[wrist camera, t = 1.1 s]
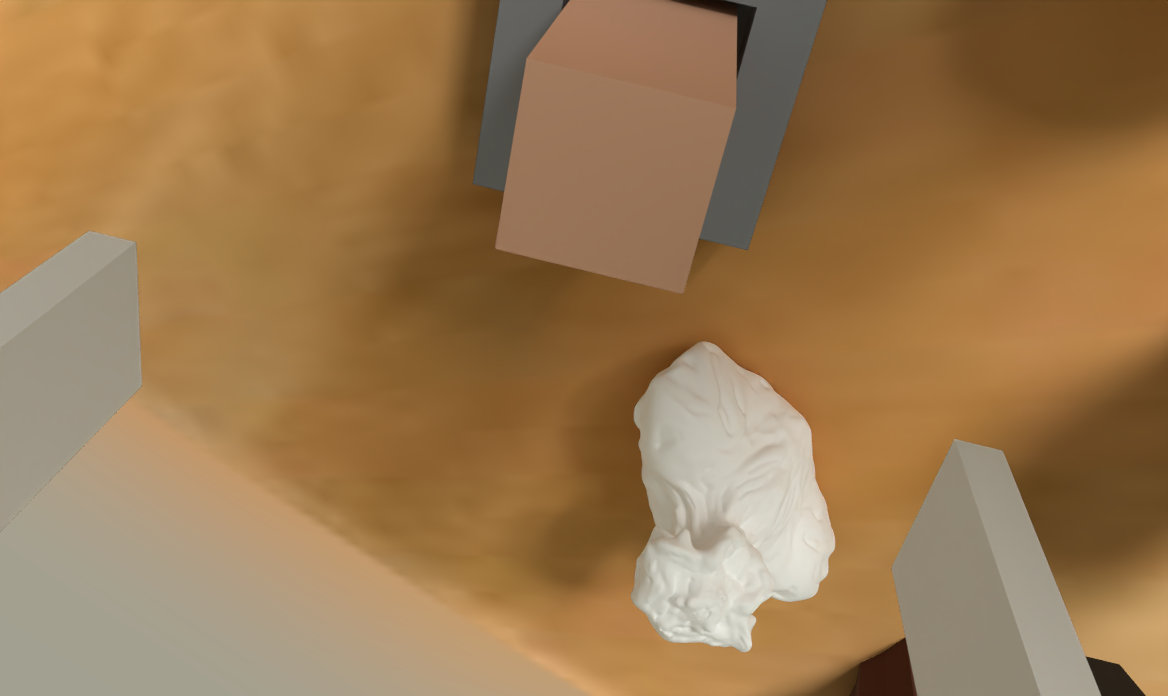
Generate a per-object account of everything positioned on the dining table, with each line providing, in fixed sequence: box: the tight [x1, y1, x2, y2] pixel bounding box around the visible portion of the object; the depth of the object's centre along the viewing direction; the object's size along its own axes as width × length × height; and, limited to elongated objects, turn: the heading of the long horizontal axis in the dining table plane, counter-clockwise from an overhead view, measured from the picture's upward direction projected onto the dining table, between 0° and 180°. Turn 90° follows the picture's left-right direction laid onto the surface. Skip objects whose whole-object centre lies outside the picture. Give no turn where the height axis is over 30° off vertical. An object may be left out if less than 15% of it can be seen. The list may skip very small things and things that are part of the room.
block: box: [495, 0, 737, 294], centre depth 29 cm, size 5×5×12 cm
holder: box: [473, 0, 827, 250], centre depth 34 cm, size 10×10×3 cm
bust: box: [631, 341, 835, 652], centre depth 39 cm, size 12×8×11 cm
